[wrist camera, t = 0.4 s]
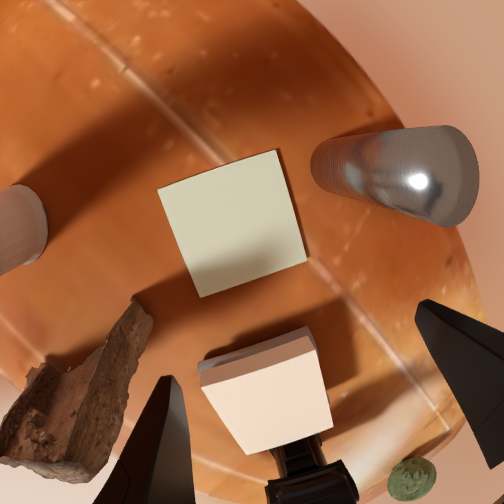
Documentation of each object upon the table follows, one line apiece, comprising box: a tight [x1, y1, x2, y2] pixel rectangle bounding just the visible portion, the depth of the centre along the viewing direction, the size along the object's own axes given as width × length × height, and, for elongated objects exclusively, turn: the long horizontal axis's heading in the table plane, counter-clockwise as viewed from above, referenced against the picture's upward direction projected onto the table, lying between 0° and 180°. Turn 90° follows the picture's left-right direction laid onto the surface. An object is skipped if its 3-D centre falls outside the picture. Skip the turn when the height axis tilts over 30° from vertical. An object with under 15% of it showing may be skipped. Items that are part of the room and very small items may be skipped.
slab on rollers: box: [198, 326, 334, 455], centre depth 24 cm, size 11×10×5 cm
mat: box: [158, 150, 307, 298], centre depth 22 cm, size 9×9×1 cm
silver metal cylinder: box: [310, 125, 479, 227], centre depth 16 cm, size 4×4×12 cm
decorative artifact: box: [387, 457, 436, 501], centre depth 35 cm, size 10×7×10 cm
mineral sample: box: [0, 296, 153, 484], centre depth 16 cm, size 17×4×15 cm, turn 120°
